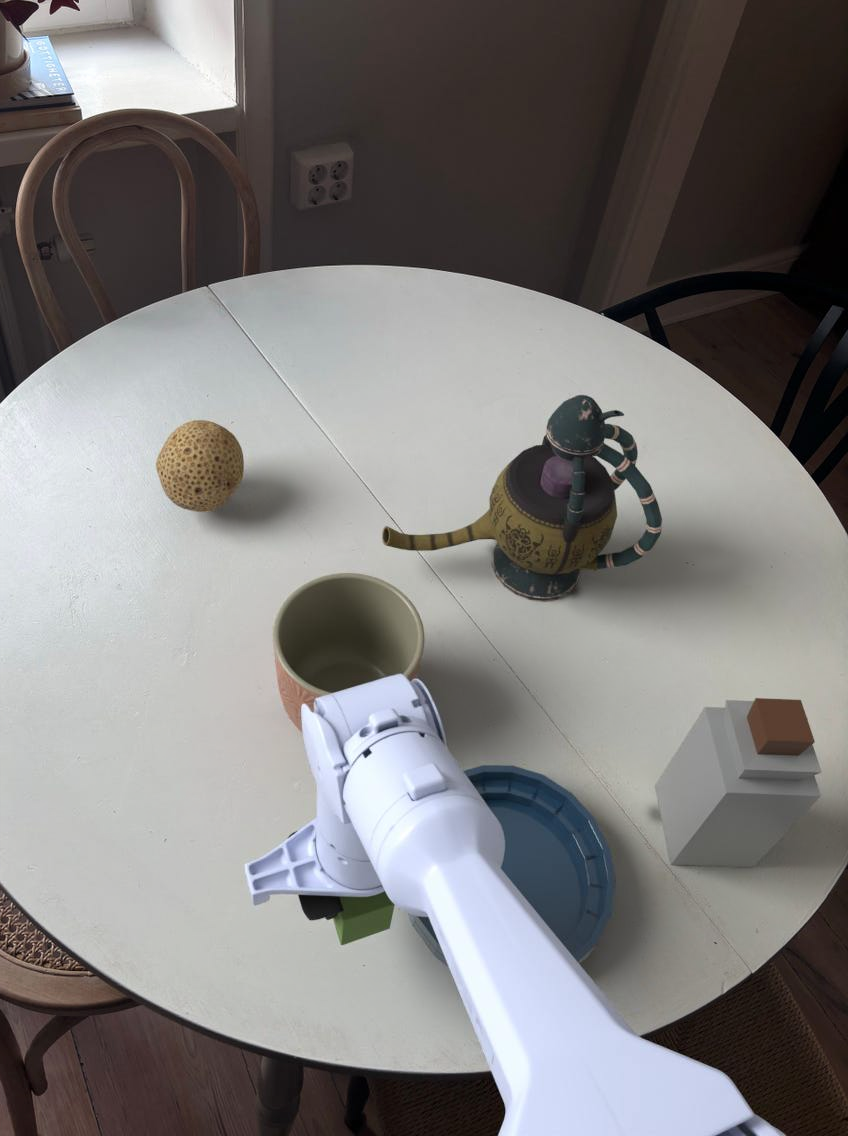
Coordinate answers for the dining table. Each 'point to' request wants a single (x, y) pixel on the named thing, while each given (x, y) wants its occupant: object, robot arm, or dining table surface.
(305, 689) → the planter
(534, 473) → the teapot
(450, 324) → the dining table surface
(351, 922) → the scrub pad
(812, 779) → the perfume bottle
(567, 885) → the bowl
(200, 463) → the natural sponge
